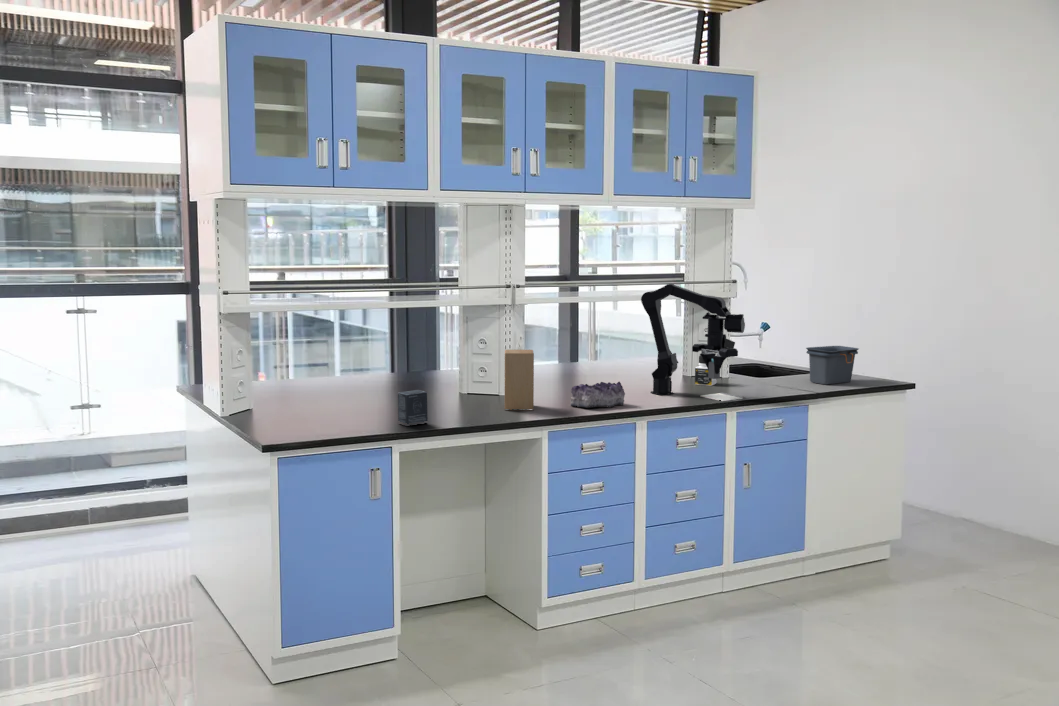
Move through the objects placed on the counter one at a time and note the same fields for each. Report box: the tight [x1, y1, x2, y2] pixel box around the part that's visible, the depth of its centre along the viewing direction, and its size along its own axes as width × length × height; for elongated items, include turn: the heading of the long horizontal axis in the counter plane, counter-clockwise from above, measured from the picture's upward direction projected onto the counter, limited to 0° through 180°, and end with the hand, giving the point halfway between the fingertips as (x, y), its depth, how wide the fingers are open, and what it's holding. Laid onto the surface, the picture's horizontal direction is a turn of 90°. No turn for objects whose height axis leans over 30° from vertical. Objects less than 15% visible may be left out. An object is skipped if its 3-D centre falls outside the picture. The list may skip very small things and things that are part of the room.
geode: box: [570, 381, 626, 409], centre depth 345 cm, size 20×12×10 cm, turn 117°
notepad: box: [700, 392, 745, 402], centre depth 363 cm, size 11×12×1 cm
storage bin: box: [805, 345, 860, 385], centre depth 399 cm, size 21×16×14 cm
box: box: [397, 389, 429, 424], centre depth 311 cm, size 8×6×11 cm
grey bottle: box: [708, 359, 721, 380], centre depth 361 cm, size 3×3×7 cm
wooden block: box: [504, 349, 535, 411], centre depth 339 cm, size 10×10×20 cm
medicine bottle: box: [694, 354, 718, 387], centre depth 393 cm, size 7×7×12 cm
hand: (713, 373), depth 361 cm, fingers closed on grey bottle, 3 cm apart
